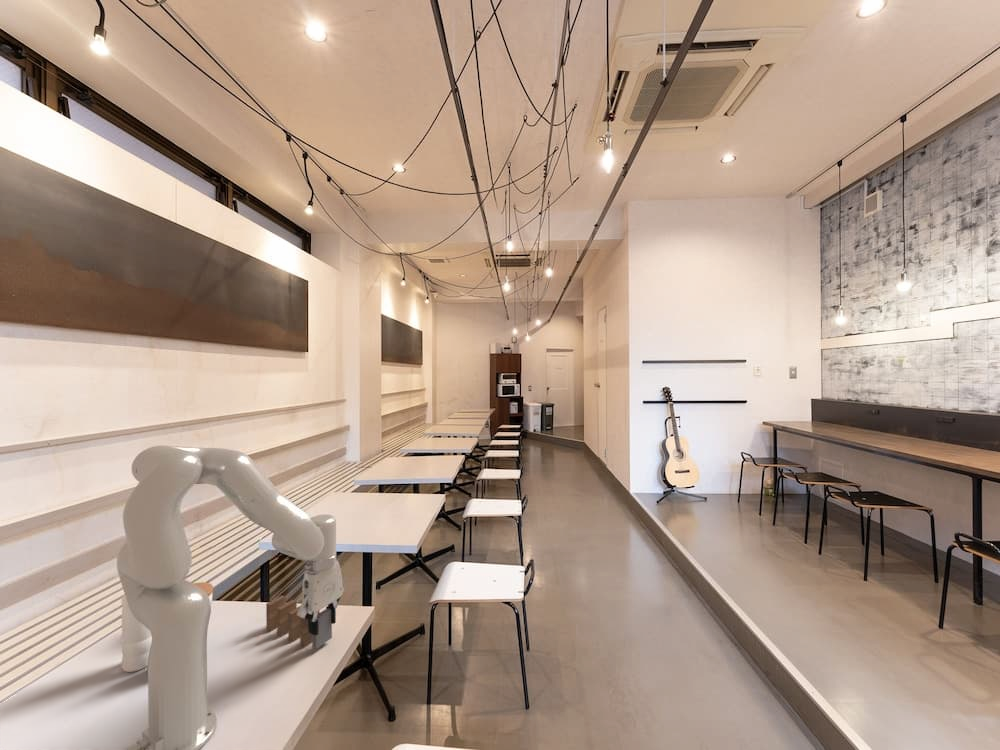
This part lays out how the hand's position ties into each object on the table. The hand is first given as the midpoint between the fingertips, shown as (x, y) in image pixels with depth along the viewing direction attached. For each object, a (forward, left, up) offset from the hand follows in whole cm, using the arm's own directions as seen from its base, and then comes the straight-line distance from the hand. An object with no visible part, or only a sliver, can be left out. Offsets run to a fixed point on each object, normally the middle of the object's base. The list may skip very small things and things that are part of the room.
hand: (322, 627), depth 112 cm
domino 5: (0, 0, -4) cm, 4 cm away
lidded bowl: (-11, +46, -6) cm, 48 cm away
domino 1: (0, +20, -5) cm, 21 cm away
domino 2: (0, +15, -5) cm, 16 cm away
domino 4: (0, +5, -5) cm, 7 cm away
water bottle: (-26, +37, -6) cm, 46 cm away
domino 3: (0, +10, -5) cm, 11 cm away
